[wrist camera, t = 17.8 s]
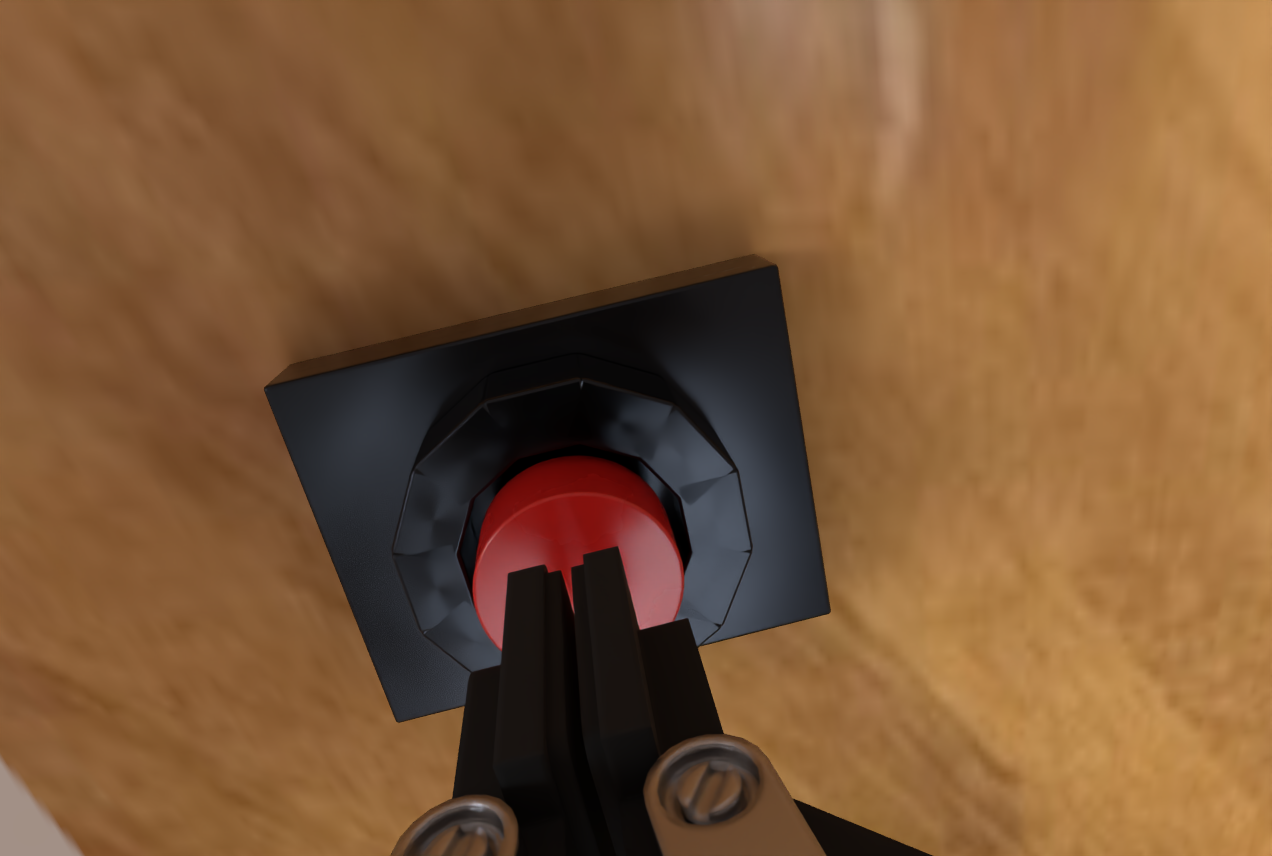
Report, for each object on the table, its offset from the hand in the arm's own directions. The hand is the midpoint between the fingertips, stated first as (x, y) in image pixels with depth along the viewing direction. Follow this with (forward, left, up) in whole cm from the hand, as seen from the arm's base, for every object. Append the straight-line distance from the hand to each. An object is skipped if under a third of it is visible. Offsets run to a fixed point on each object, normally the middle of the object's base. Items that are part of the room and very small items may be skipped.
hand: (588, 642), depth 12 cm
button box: (0, 0, -7) cm, 7 cm away
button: (0, 0, -4) cm, 4 cm away
